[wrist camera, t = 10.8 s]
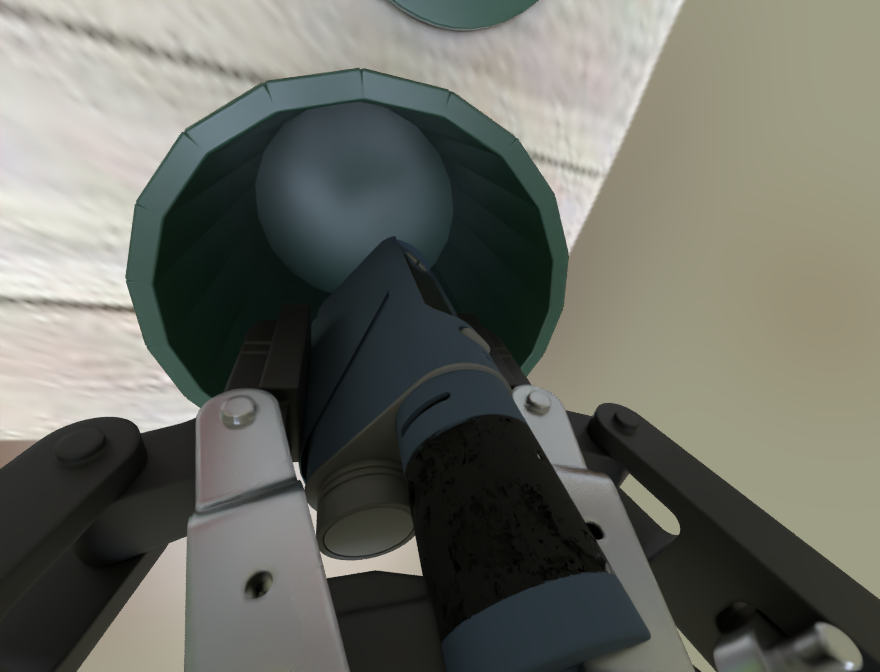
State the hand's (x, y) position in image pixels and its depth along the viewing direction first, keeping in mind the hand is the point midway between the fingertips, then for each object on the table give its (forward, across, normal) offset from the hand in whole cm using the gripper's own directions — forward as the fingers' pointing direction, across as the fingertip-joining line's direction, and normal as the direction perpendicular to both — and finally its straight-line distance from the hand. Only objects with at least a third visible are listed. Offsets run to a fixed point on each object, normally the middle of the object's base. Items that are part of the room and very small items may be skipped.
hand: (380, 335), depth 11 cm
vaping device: (+3, 0, 0) cm, 3 cm away
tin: (+15, 0, 0) cm, 15 cm away
